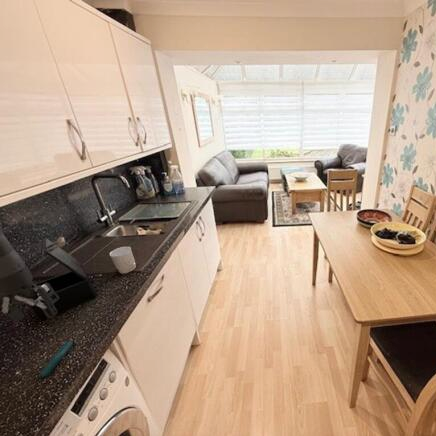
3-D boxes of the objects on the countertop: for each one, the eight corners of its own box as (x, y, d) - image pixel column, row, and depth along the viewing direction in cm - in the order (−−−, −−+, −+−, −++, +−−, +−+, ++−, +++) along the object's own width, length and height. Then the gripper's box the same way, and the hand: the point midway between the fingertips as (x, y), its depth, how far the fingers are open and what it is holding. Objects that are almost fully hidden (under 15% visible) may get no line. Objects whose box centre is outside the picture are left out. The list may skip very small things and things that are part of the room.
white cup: (139, 269, 109) (132, 250, 104) (119, 277, 104) (111, 258, 99) (135, 262, 114) (128, 244, 110) (116, 269, 109) (107, 251, 105)
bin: (41, 322, 83) (28, 303, 79) (41, 303, 91) (29, 285, 88) (96, 298, 93) (86, 280, 89) (91, 283, 101) (83, 266, 97)
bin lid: (43, 252, 78) (59, 242, 80) (43, 239, 87) (58, 230, 89) (85, 280, 88) (98, 270, 91) (81, 266, 97) (93, 257, 99)
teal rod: (48, 378, 65) (45, 373, 64) (40, 379, 65) (36, 374, 64) (75, 344, 74) (73, 339, 74) (68, 344, 74) (65, 340, 73)
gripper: (-47, 283, 54) (-6, 332, 61) (20, 276, 56) (53, 325, 63) (-13, 264, 61) (21, 310, 68) (46, 258, 62) (74, 304, 69)
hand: (36, 317), depth 65 cm, fingers open, 8 cm apart
